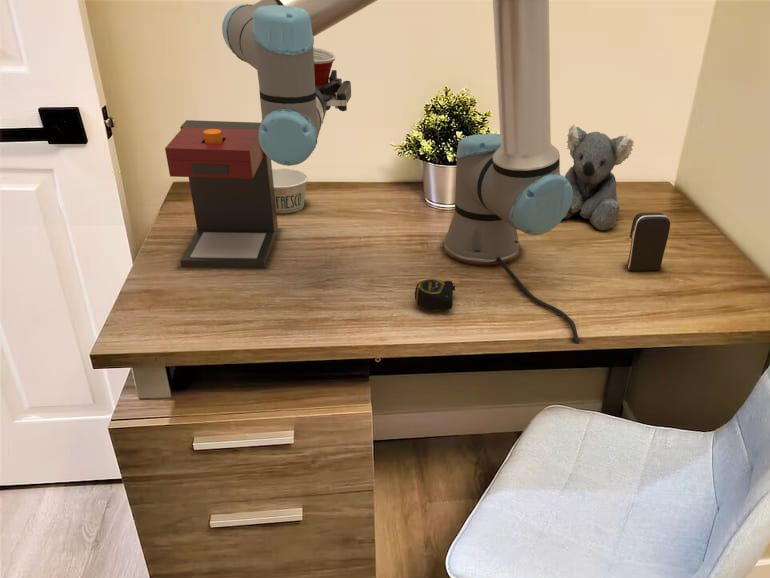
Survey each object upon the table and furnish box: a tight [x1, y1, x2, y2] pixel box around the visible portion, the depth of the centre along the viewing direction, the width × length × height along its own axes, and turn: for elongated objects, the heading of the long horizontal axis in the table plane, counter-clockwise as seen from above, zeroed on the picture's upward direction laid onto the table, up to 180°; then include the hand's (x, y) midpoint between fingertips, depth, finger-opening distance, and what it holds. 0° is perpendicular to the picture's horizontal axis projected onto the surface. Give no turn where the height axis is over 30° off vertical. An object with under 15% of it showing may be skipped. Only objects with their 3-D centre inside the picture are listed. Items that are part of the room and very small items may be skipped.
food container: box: [272, 167, 309, 214], centre depth 162 cm, size 12×12×6 cm
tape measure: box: [414, 278, 456, 312], centre depth 128 cm, size 7×7×4 cm
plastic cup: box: [313, 46, 337, 125], centre depth 127 cm, size 11×11×12 cm
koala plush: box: [562, 124, 635, 231], centre depth 165 cm, size 17×18×20 cm
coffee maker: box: [164, 119, 279, 269], centre depth 138 cm, size 18×15×22 cm
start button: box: [203, 129, 223, 144], centre depth 129 cm, size 3×3×2 cm
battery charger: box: [626, 211, 671, 272], centre depth 144 cm, size 7×4×11 cm, turn 100°
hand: (314, 77), depth 131 cm, fingers closed on plastic cup, 6 cm apart
